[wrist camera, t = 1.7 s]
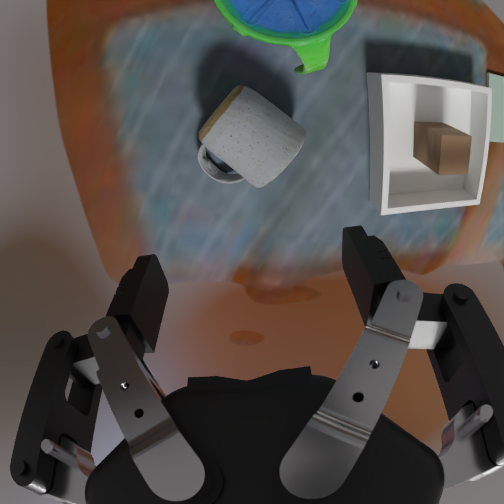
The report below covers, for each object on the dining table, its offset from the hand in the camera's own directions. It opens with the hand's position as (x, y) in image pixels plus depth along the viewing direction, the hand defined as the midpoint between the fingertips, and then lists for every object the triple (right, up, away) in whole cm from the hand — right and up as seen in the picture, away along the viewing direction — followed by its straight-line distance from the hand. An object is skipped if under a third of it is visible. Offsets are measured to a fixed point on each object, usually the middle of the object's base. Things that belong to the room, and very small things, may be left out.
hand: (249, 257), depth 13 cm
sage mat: (+37, +20, +14) cm, 44 cm away
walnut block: (+22, +14, +17) cm, 31 cm away
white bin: (+22, +14, +18) cm, 31 cm away
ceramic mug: (-1, +13, +18) cm, 22 cm away
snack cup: (+2, +25, +10) cm, 27 cm away
